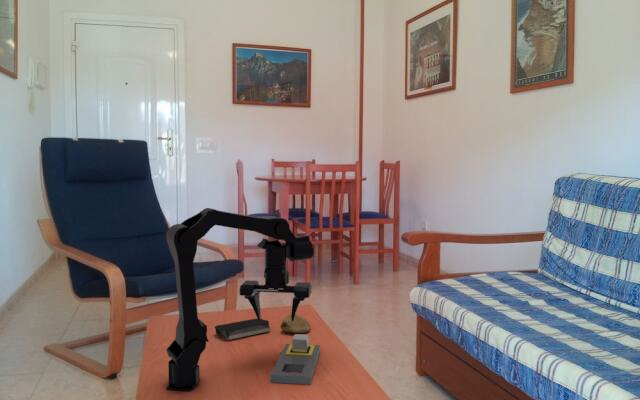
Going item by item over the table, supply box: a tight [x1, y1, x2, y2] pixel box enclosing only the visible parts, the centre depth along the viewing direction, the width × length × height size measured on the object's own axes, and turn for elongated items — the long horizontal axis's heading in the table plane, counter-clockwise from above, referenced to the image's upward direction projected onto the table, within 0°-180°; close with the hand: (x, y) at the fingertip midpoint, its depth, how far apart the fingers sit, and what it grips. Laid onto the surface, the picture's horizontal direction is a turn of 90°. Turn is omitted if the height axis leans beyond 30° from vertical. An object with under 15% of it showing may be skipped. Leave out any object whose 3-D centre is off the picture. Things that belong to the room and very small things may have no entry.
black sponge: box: [214, 318, 271, 341], centre depth 164 cm, size 16×8×4 cm, turn 123°
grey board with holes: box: [269, 343, 321, 386], centre depth 139 cm, size 10×21×2 cm, turn 173°
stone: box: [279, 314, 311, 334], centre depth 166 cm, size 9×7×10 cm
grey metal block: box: [291, 333, 310, 353], centre depth 145 cm, size 4×4×6 cm
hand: (275, 320), depth 140 cm, fingers open, 9 cm apart
